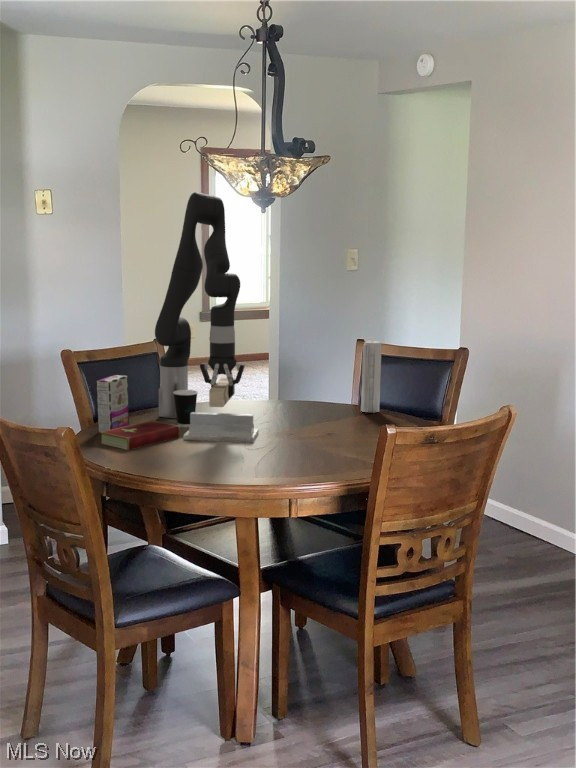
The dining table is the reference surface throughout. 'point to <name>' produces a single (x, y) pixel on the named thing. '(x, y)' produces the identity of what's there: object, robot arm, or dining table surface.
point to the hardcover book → (140, 434)
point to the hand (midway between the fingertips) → (222, 396)
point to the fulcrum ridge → (221, 427)
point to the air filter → (371, 376)
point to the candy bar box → (112, 402)
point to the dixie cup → (184, 406)
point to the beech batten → (219, 393)
